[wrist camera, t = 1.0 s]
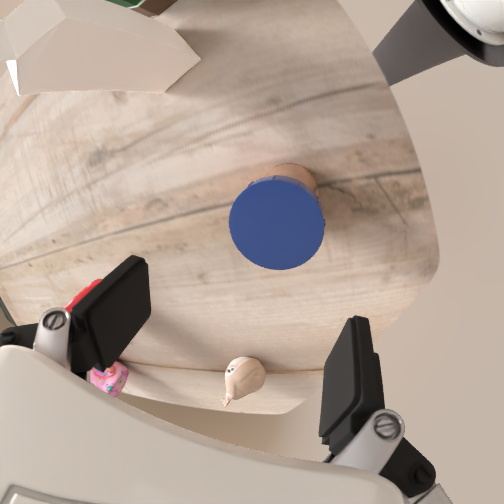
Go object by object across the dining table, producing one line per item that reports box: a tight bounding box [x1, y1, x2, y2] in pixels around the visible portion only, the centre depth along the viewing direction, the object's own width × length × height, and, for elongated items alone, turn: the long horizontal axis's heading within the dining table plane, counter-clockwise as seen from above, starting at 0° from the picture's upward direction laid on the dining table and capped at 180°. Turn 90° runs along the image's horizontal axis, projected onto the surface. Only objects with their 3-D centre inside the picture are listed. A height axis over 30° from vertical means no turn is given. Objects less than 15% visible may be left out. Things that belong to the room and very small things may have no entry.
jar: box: [264, 163, 319, 197], centre depth 24 cm, size 6×6×10 cm
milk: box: [0, 0, 201, 96], centre depth 14 cm, size 6×6×22 cm
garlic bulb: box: [221, 357, 266, 407], centre depth 38 cm, size 7×6×8 cm
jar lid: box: [229, 174, 325, 270], centre depth 20 cm, size 7×7×2 cm
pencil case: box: [90, 361, 129, 397], centre depth 49 cm, size 21×9×9 cm, turn 65°
